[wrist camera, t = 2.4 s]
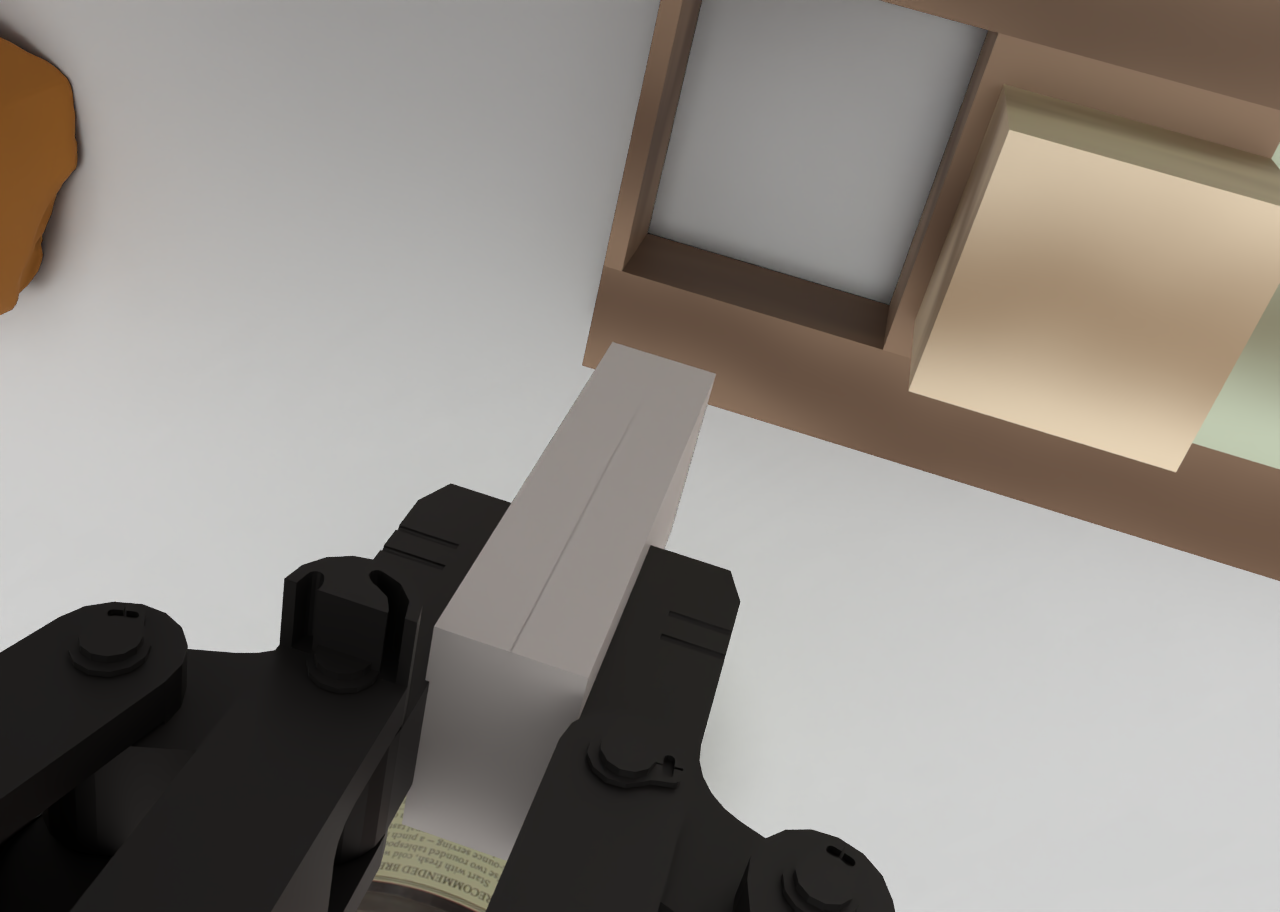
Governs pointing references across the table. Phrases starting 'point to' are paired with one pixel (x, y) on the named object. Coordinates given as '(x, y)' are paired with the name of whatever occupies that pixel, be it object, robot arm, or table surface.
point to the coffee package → (30, 161)
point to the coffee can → (430, 874)
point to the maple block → (1098, 278)
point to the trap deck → (883, 334)
